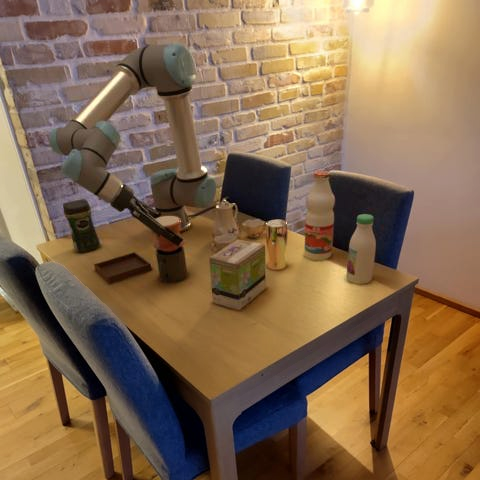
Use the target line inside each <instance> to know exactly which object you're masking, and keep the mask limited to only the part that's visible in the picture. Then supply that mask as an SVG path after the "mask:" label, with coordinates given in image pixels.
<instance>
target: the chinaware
mask: <svg viewBox="0 0 480 480" xmlns="http://www.w3.org/2000/svg"><path fill="white" fill-rule="evenodd" d="M219 203H220V204H219ZM219 203H217V204H218V205H217V204H215V205H216V207H215V208H216V210H213V211H212V213H213V214H214V218H213V227H212V235H211V236H212V238H213V240H212V241H213V243H212V244H211V246H210V249H211V251H212V252H213V253H217V252H219V251H220V250H222V249H223V248H225V247H226V246H228V245H229V244H231V243H233V242H234V241H236V240H237V239H239V237H240V235H241V233H242V231H241V228H240V227H239V226H238V225H237V222H238V220H237V217H238V213H239V208H238V205H237V204H236V203H230V202H229V201H227V199H226V200H225V197H224V198H222V200H221V201H220V202H219ZM233 207H234V208H235V213H234V215H233ZM241 225H242V226H243V228H244V230H245V232H246V233H247V234H248V235H249V238H254V239H255V238H259V235H260V234H261V233H262V231H263V229H264V225H266V221H264V220H262V219H260V218H254V219H246V220H245V221H244V222H242V223H241ZM213 246H216V248H217V249H216V250H213Z"/></svg>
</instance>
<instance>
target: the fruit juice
mask: <svg viewBox="0 0 480 480" xmlns="http://www.w3.org/2000/svg"><path fill="white" fill-rule="evenodd" d="M330 173H331V172H329V171H326V170H318V171H317V170H316V171H315V172H314V173H313V179H314V180H313V183H312V186H311V189H310V190H309V192H308V195H307V196H306V201H305V203H306V204H305V205H306V207H307V209H306V213H305V217H304V218H305V219H304V220H305V221H304V222H305V223H304V255H305V257H306V258H307V259H309V260H313V261H322V260H323V261H324V260H327V259H330V258H331V257H332V254H333V243H334V228H335V211H334V207H335V203H336V198H335V195H334V193H333V191H332V188H331V183H330V180H329V179H330V177H331V175H330Z"/></svg>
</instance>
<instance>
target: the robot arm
mask: <svg viewBox="0 0 480 480" xmlns="http://www.w3.org/2000/svg"><path fill="white" fill-rule="evenodd" d="M111 75H112V76H110V77H109V78H108V80H106V81H105V83H104V84H103V85H102V86H101V87H100V88H99V89H98V90H97V92H95V94H93V96H92V97H91V98H90V99H89V100H88V101H87V102H86V103H85V104H84V106H83V107H82V108H80V110H79V111H78V112H77V113H76V114H75V115H74V116H73V117H72V118H71V119H70V120H69V121H68V123H66V124H65V126H63V127H62V126H61V127H56V128H53V129H52V130H51V131H50V132H49V135H48V144H49V147H50V148H51V150H52V151H53V152H54V153H55V154H58V155H59V156H60V155H61V156H66V158H65V160H64V161H63V163H62V165H61V167H60V168H61V169H60V170H61V172H62V174H64V175H65V176H66V178H68V179H70V180H71V181H72V182H73V183H76V184H77V185H79V186H80V187H82V188H83V189H85V190H86V191H88V192H89V193H91V194H93V195H94V196H96V197H97V200H98V201H103V202H104V203H106V204H109V205H110V207H112V208H113V209H114V210H116V211H118V212H119V213H122V212H124V211H125V210H126V209H127V210H128V211H129V213H130V215H131V216H132V218H135V219H136V220H138V221H139V222H140V223H142V224H143V225H144V226H145V227H147V228H148V229H149V230H150V231H152V233H153V232H155V233H156V234H157V236H158V237H160V236H161V235H162V236H163V237H165V238H166V239H168V240H169V241H171V242H172V243H174V244H175V245H177V246H179V245H180V243H181V242H182V241H183V237H182V236H181V235H180V236H178V235H177V234H175V233H174V232H173V231H171V230H170V229H168V228H167V227H164V226H163V225H161V224H160V223H159V222H158V221H157V220H156V218H159V217H163V216H176V217H179V218H180V219H181V224H180V225H181V230H180V231H179V232H180V234H181V233H183V232H186V231H188V230H189V229H190V228H191V227H192V226H191V220H190V218H192V217H196V216H199V215H200V214H203V213H204V212H206V211H209V210H211V209H213V208H216V205H218V204H220V203H221V202H219V203H217V204H214V205H212V203H214V200H215V197H216V194H217V182H216V180H215V179H214V177H212V176H210V175H209V173H208V169H207V167H205V166H204V165H202V158H201V153H200V152H201V151H200V147H199V143H198V137H197V132H196V131H197V130H196V125H195V121H194V116H193V110H192V105H191V99H190V95H191V93H192V91H193V85H194V84H195V82H196V80H197V77H196V76H197V65H196V61H195V59H194V56H193V54H192V52H191V51H190V50H189V49H188V48H187V47H186V46H184V45H182V44H175V43H174V44H173V43H166V44H165V43H164V44H157V45H155V44H154V45H144V46H143V45H142V46H140V47H138V48H136V49H134V50H132V51H130V53H129V54H128V55H125V57H124V58H122V60H120V61H119V62H118V63H117V64H116V65H115V67H113V69H112V74H111ZM145 88H155V90H156V93H157V97H159V99H161V100H162V101H163V104H164V108H165V112H166V117H167V122H168V127H169V131H170V135H171V140H172V144H173V149H174V153H175V157H176V162H177V167H178V168H166V169H163V170H158V171H156V172H154V173H152V174H151V175H150V177H149V178H150V188H151V193H152V200H153V205H154V208H153V207H151V206H150V205H148V204H147V203H145V202H144V201H142V200H140V199H139V198H137V197H136V195H135V191H134V189H133V188H131V187H130V186H128V185H127V184H126V183H123V182H122V180H120V179H119V178H117V177H116V176H115V175H114V174H112V173H110V172H109V171H107V170H106V167H107V165H108V163H109V162H110V160H111V159H112V156H113V154H114V153H115V152H116V150H117V148H118V146H119V143H120V141H121V133H120V131H119V130H118V128H117V127H116V126H115V125H114V124H112V123H110V122H109V121H110V120H111V118H113V116H114V115H115V114H116V112H117V111H118V110H119V109H120V108H121V107H122V106H123V104H125V102H126V101H127V100H128V99H129V98H130V97H131V96H135V95H137V94H138V93H139V92H140V91H141V90H142V89H145ZM224 198H225V200H226V201H227V200H230V197H229V196H225V197H224ZM211 205H212V206H211ZM185 207H190V208H195V209H202V210H200V211H199V212H196V213H194V214H188V213H187V211H186V209H185ZM181 237H182V238H181Z"/></svg>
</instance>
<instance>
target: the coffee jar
mask: <svg viewBox="0 0 480 480" xmlns="http://www.w3.org/2000/svg"><path fill="white" fill-rule="evenodd" d="M62 208H63V215H64V217H65V218H66V220H67V222H68V226H69V229H70V235H71V240H72V245H73V248H74V251H75V252H77V253H86V252H91V251H94V250H97V249H99V248H100V247H101V242H100V238H99V236H98V233H97V231H96V229H95V226H94V222H93V220H92V208H91V206H90V204H89V201H88V200H87V199H85V198H81V199H77V200H72V201H67V202H63V203H62Z"/></svg>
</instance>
